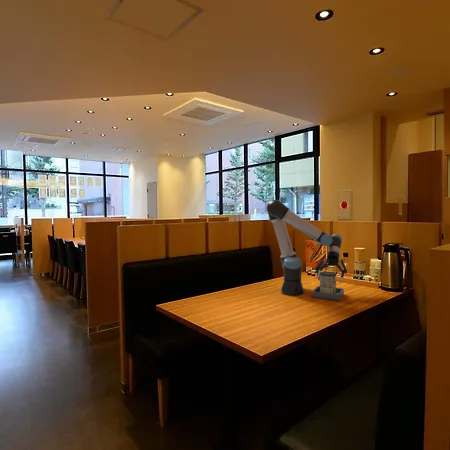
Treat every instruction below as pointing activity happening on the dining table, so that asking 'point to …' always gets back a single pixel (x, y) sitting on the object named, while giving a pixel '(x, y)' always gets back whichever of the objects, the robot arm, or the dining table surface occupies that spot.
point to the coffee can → (328, 282)
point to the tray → (328, 294)
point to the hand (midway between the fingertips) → (329, 280)
